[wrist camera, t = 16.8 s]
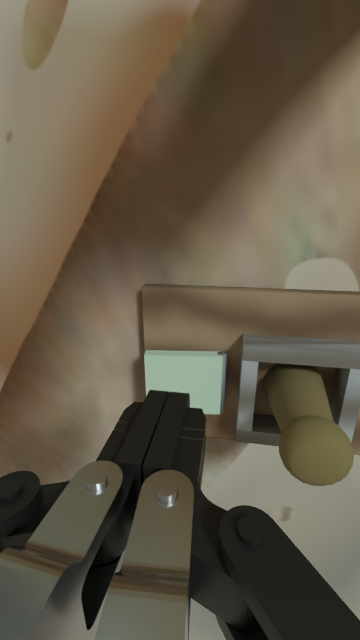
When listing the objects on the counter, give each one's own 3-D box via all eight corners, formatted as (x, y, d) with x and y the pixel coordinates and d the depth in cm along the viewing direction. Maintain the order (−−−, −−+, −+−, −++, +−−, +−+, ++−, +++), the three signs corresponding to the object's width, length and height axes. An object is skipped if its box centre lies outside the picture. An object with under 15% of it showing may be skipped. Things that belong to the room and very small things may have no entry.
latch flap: (145, 350, 31) (144, 355, 30) (226, 351, 31) (227, 356, 30) (148, 405, 34) (146, 412, 33) (223, 407, 33) (224, 414, 32)
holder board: (145, 283, 32) (132, 294, 28) (402, 293, 28) (432, 307, 24) (151, 421, 38) (141, 447, 34) (363, 446, 34) (381, 478, 30)
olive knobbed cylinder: (316, 413, 32) (354, 507, 22) (258, 404, 33) (269, 490, 22) (329, 363, 30) (379, 441, 20) (267, 355, 31) (284, 426, 20)
